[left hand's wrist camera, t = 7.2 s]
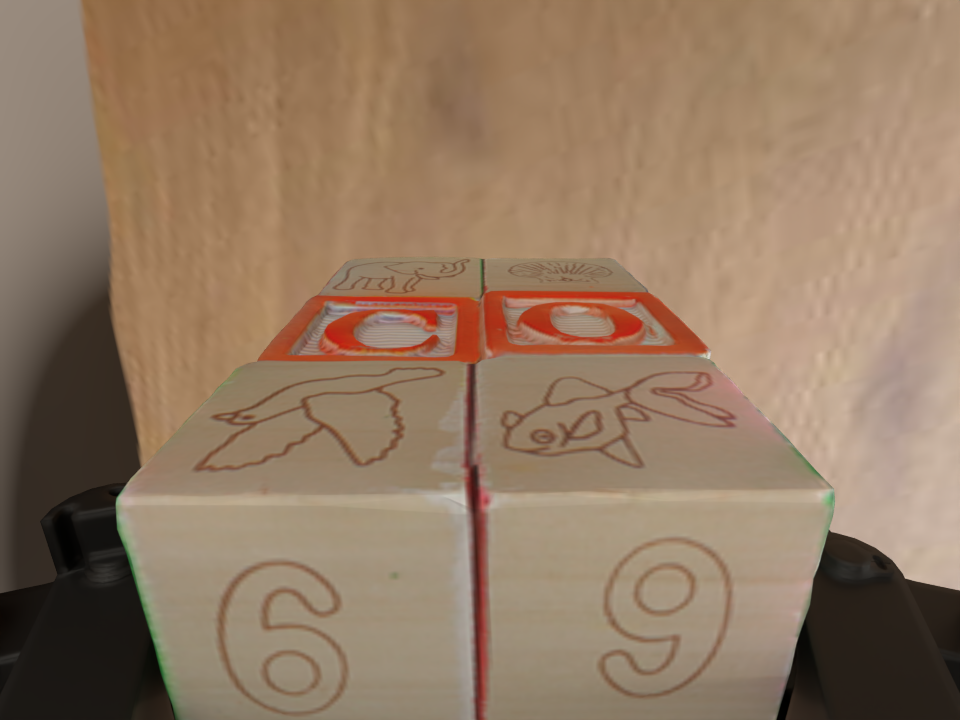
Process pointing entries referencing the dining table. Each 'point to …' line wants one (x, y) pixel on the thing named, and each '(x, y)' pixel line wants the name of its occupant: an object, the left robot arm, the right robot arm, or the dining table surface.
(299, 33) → the dining table surface
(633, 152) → the dining table surface
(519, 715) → the stack of blocks
